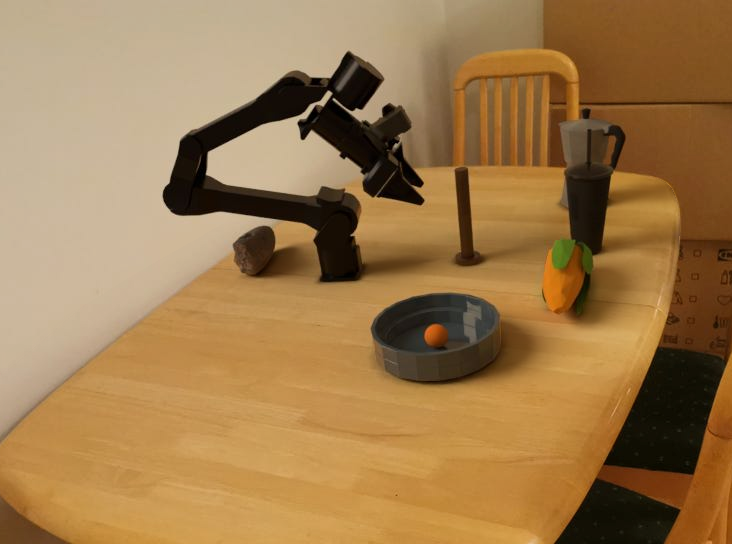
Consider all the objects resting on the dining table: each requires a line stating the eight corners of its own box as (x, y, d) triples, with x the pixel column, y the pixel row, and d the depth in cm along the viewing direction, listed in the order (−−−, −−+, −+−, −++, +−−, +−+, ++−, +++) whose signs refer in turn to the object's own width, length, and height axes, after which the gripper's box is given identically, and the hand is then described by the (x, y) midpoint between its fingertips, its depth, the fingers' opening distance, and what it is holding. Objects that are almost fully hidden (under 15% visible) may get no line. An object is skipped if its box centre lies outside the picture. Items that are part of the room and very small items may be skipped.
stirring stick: (454, 266, 118) (446, 173, 109) (456, 256, 121) (448, 165, 113) (480, 265, 117) (473, 171, 109) (481, 254, 120) (475, 163, 112)
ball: (424, 352, 93) (421, 331, 91) (427, 340, 96) (424, 320, 94) (447, 352, 92) (445, 331, 91) (450, 340, 95) (448, 319, 93)
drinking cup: (611, 258, 113) (616, 133, 103) (563, 259, 115) (563, 137, 104) (609, 240, 119) (613, 121, 109) (563, 242, 121) (564, 125, 111)
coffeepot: (542, 203, 139) (541, 110, 130) (574, 190, 143) (575, 100, 134) (605, 218, 128) (608, 118, 119) (637, 204, 132) (642, 106, 123)
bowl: (364, 385, 89) (359, 356, 87) (387, 321, 103) (383, 294, 101) (499, 383, 86) (497, 352, 83) (503, 318, 100) (501, 290, 98)
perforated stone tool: (263, 249, 136) (255, 215, 132) (288, 248, 135) (281, 214, 131) (231, 281, 124) (222, 245, 120) (258, 281, 122) (249, 244, 119)
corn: (594, 224, 106) (587, 281, 89) (596, 270, 109) (590, 332, 93) (545, 228, 108) (530, 284, 92) (549, 273, 112) (535, 333, 96)
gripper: (373, 103, 97) (457, 171, 102) (379, 80, 113) (451, 140, 118) (328, 165, 102) (410, 228, 106) (339, 135, 118) (411, 190, 122)
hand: (422, 193), depth 113 cm, fingers open, 9 cm apart
